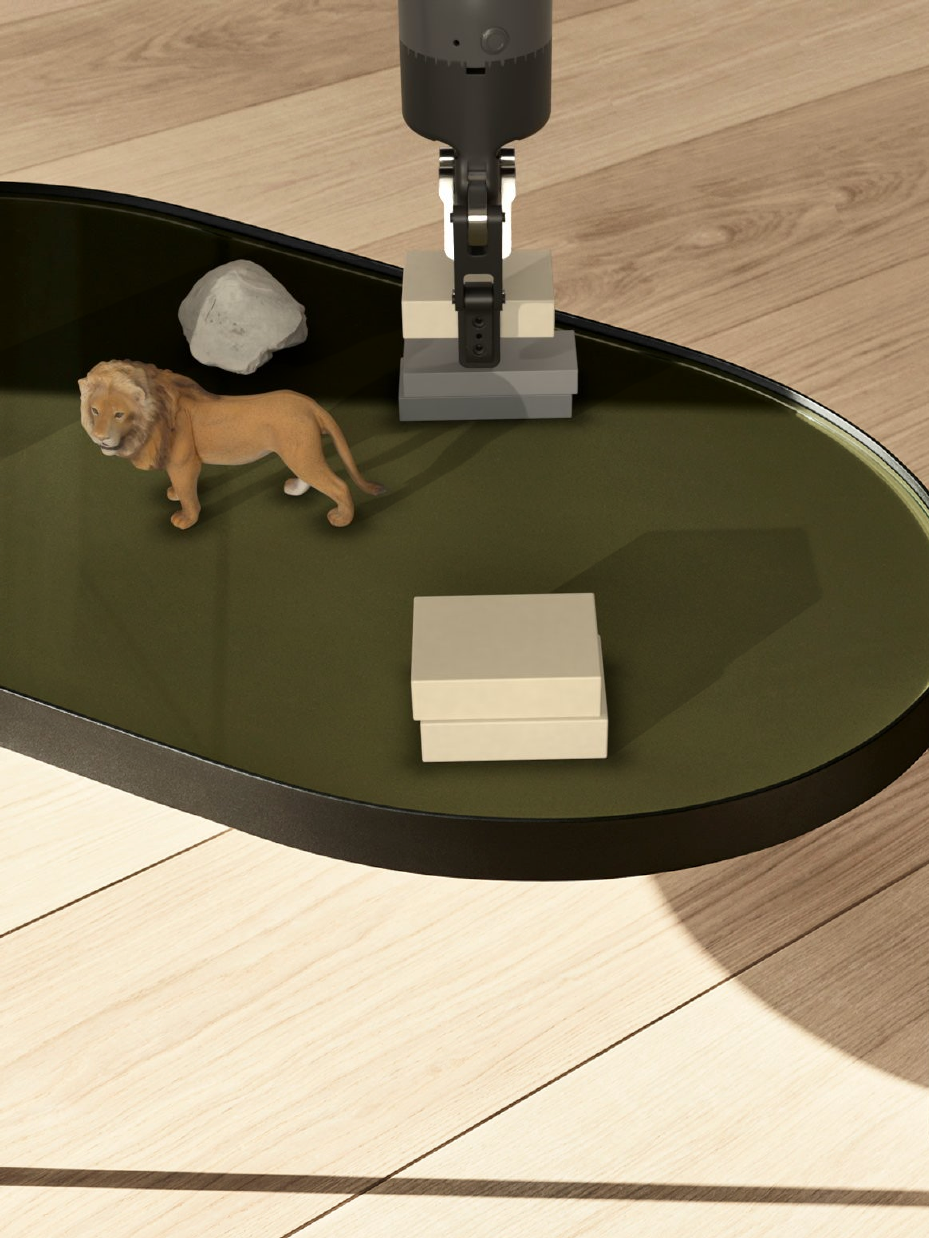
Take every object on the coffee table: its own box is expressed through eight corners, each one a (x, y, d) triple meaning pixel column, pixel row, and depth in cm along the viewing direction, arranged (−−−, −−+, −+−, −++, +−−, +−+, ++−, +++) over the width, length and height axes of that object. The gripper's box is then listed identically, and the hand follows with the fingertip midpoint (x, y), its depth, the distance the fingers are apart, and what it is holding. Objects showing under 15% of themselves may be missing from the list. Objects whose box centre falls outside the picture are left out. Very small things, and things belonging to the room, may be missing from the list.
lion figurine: (98, 551, 92) (68, 395, 86) (102, 493, 96) (74, 340, 91) (390, 526, 94) (380, 370, 88) (382, 469, 98) (372, 317, 92)
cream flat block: (403, 339, 97) (401, 301, 96) (406, 286, 102) (404, 249, 101) (554, 337, 97) (555, 300, 96) (550, 285, 102) (551, 248, 101)
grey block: (399, 421, 101) (397, 373, 100) (401, 380, 105) (399, 333, 103) (577, 418, 101) (577, 370, 100) (573, 376, 105) (574, 329, 103)
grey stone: (343, 335, 109) (337, 257, 106) (273, 398, 103) (265, 319, 100) (220, 307, 112) (210, 230, 109) (145, 367, 106) (133, 289, 103)
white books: (415, 763, 80) (410, 684, 77) (418, 672, 84) (414, 595, 82) (607, 758, 80) (609, 680, 77) (599, 668, 84) (600, 591, 82)
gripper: (402, -21, 95) (413, 275, 106) (394, 83, 84) (407, 403, 95) (547, -22, 96) (543, 274, 106) (557, 82, 84) (552, 401, 95)
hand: (479, 333), depth 100 cm, fingers closed on cream flat block, 6 cm apart
